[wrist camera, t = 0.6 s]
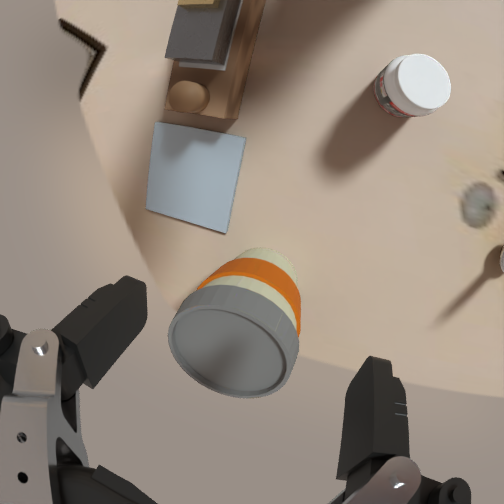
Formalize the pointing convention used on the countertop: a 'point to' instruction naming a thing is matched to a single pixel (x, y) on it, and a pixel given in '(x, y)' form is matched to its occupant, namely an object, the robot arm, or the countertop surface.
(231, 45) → the plane body
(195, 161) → the rubber mat
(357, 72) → the countertop surface
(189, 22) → the lever cap
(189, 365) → the reusable coffee cup
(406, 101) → the pill bottle
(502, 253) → the screw
